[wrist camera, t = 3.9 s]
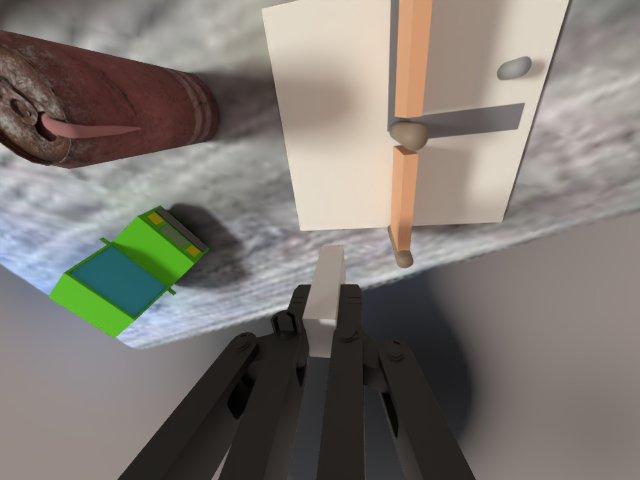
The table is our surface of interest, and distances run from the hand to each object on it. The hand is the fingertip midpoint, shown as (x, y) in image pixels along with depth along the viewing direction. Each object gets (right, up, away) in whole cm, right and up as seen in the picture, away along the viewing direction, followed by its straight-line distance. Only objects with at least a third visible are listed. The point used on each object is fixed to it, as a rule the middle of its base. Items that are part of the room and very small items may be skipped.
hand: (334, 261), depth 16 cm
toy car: (-23, +1, +16) cm, 28 cm away
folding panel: (+7, +6, +7) cm, 12 cm away
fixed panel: (+6, +16, +2) cm, 17 cm away
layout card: (+6, +12, +5) cm, 14 cm away
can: (-14, +15, +7) cm, 21 cm away
